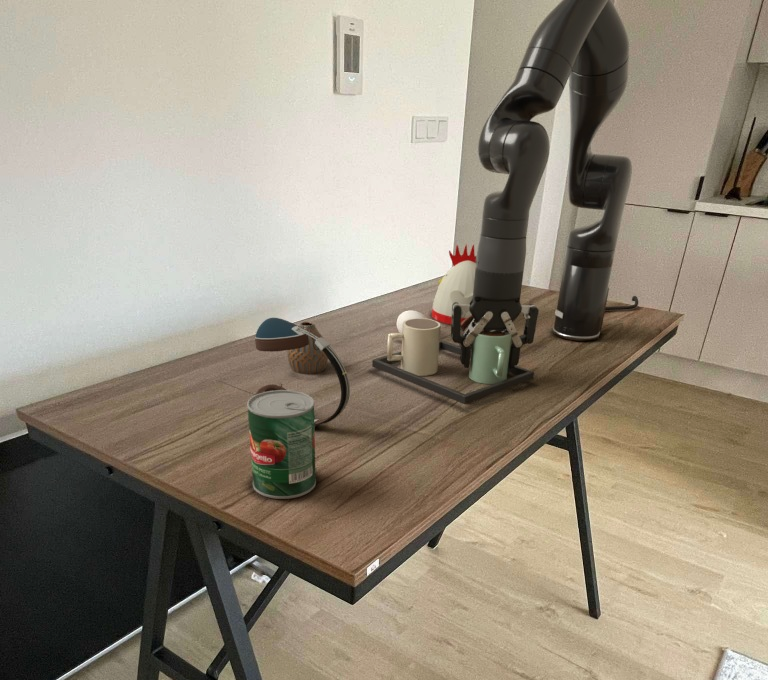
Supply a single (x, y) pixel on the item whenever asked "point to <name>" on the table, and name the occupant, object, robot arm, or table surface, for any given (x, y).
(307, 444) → the canned tomato
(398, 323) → the stress ball
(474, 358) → the green cup
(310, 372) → the vase
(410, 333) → the cream cup
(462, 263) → the kitchen timer
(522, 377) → the tray
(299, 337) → the headphones
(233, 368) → the table surface
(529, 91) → the robot arm
